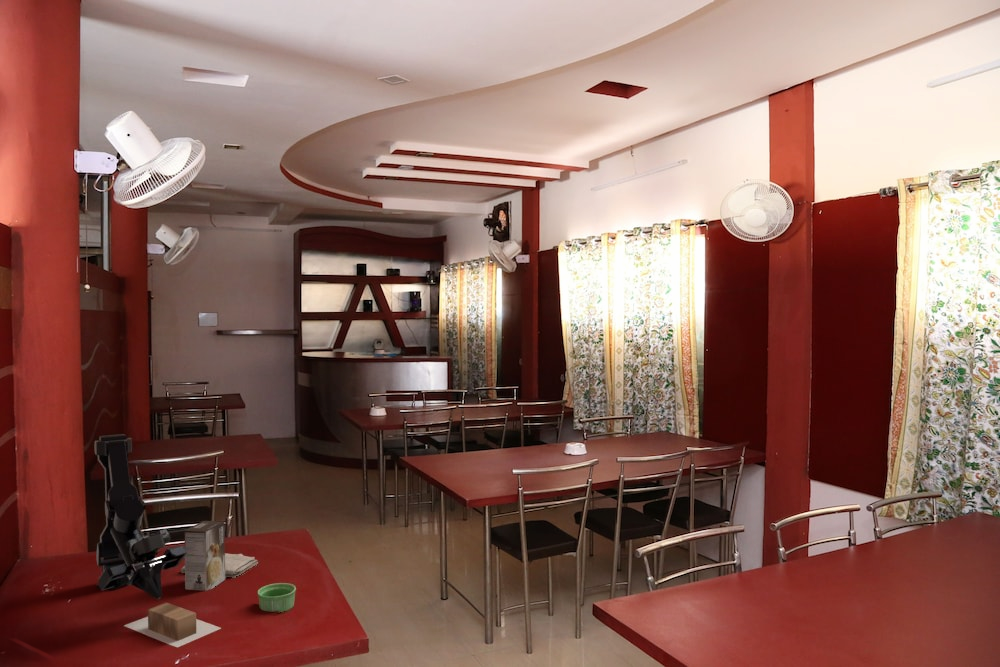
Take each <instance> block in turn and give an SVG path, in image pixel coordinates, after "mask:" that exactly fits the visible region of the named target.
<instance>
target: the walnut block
mask: <svg viewBox="0 0 1000 667" xmlns="http://www.w3.org/2000/svg"><path fill="white" fill-rule="evenodd" d="M147 617H148V629H149V630H152V631H154V632H157V633H159V634H162V635H164V636H167V637H169V638H172V639H174V640H177V641H179V640H181V639H184V638H186V637H188V636H191V635H193V634H196V619H197V613H196V612H194V611H191V610H188V609H186V608H183V607H181V606H177V605H174V604H172V603H169V602H164V603H161V604H158V605H156V606H154V607H151V608H148V609H147Z"/></svg>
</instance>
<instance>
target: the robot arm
mask: <svg viewBox="0 0 1000 667" xmlns="http://www.w3.org/2000/svg"><path fill="white" fill-rule="evenodd" d="M132 441H133V438H131V437H126V434H124V433H121V434H112V435H111V434H110V435H100V436H99V440H94V446H93V447H94V454H95V455H96V456H97V461H98V463H99V464H100V465H101V466H102V468H103V469H104V484H105V485H104V488H105V490H104V493H105V495H104V496H105V501H104V513H105V514H104V515H105V522H106V524H105V526H104V528H103V530H102V532H101V533H100V536H99V542H97V545H96V563H97V564H96V565H97V566H98V567H99V568H100V567H101V575H100V576H99V578H98V580H97V583H96V587H98V588H99V589H100V591H106V590H112V591H114V590H117V589H119V588H121V587H124V586H134V587H136V588H137V589H140V590H141V591H143V592H144V593H147V595H149V596H151V597H152V598H154V599H155V600H159V599H161V598H162V596H163V592H162V579H161V578H162V570H164V571H168V570H170V569H174V568H176V567H178V566H179V565H180V563H182V561H183V559H185V555H186V554H187V552H186V550H185V546H183V545H175V546H172V547H169V548H166V544H168V543H170V542H171V540H172V538H171V536H170V533H169V531H168V530H167V529H166V528H165V529H161V530H158V531H156V532H155V535H151V536H149V535H148V534H146V535H144V533H143V532H142V530H141V528H140V527H141V525H142V521H143V515H144V512H145V510H147V504H146V503H145V501H144V500H143V499H142V497H141V496H139V493H138V488H137V487H136V486H135V485H134V484H133V483H131V477H130V470H129V462H128V461H129V460H128V459H129V456H130V454H129V453H132V452H133V442H132ZM162 548H163V549H165V548H166V549H165V551H164V552H163V553H162V555H161V556H157V555H158V554H159V553H160V551H159V550H160V549H162ZM156 556H157V557H156Z"/></svg>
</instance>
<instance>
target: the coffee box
mask: <svg viewBox="0 0 1000 667" xmlns="http://www.w3.org/2000/svg"><path fill="white" fill-rule="evenodd" d="M225 532H226V529H225V521H220V520H219V521H213V520H202V521H201V522H199V523H196V524H194V525H192V526H190V527H189V528H187V529H184V532H183V533H184V534H183V535H184V548H185V550H186V552H187V554H186V555H185V557H184V566H185V574H184V586H185V587H184V588H185V590H189V591H191V590H192V591H193V590H194V591H205V592H207V591H209V590H212V589H214V588H216V587H217V586H218V585H220V584H221V583H222V582H224V581H226V577H225V553H226V543H225V541H226V540H225V538H226V537H225ZM215 586H216V587H215Z"/></svg>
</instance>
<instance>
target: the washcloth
mask: <svg viewBox="0 0 1000 667" xmlns="http://www.w3.org/2000/svg"><path fill="white" fill-rule="evenodd" d="M257 564H258V565H259V562H258V559H255V556H246V555H243V553H237V554H236V553H233V554H232V553H226V552H225V578H227V577H232V578H231V579H236V578H237V577H236V576H238V577H240V576H239V575H241V574H242V573H244V572H245V571H246V570H248V569H250V568H252V567H253V566H255V565H256V566H258V565H257ZM256 566H255V567H256ZM252 569H253V568H252ZM250 570H251V569H250ZM180 573H181V574H183V573H185V565H183V567H181V569H180ZM244 574H245V573H244ZM242 575H243V574H242ZM242 575H241V576H242Z"/></svg>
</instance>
